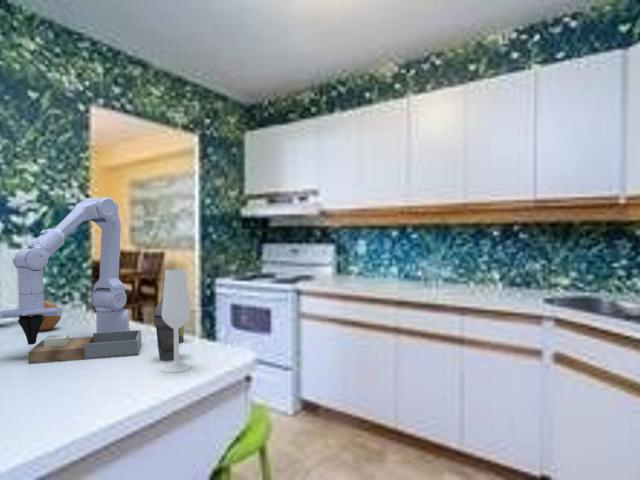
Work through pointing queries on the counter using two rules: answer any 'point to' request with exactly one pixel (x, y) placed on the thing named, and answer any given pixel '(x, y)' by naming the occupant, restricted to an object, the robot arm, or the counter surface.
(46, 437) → the counter surface
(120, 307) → the robot arm
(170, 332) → the beverage cup
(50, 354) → the plate
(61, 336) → the tile
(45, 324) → the onion
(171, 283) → the champagne flute
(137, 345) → the box
